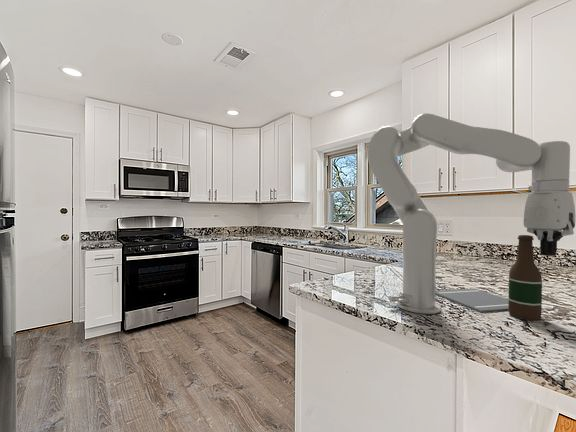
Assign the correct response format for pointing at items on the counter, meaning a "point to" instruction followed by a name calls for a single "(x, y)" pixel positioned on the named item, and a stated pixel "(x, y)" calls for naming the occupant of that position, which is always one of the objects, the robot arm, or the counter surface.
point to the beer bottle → (525, 283)
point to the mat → (476, 299)
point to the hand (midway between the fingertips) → (548, 255)
